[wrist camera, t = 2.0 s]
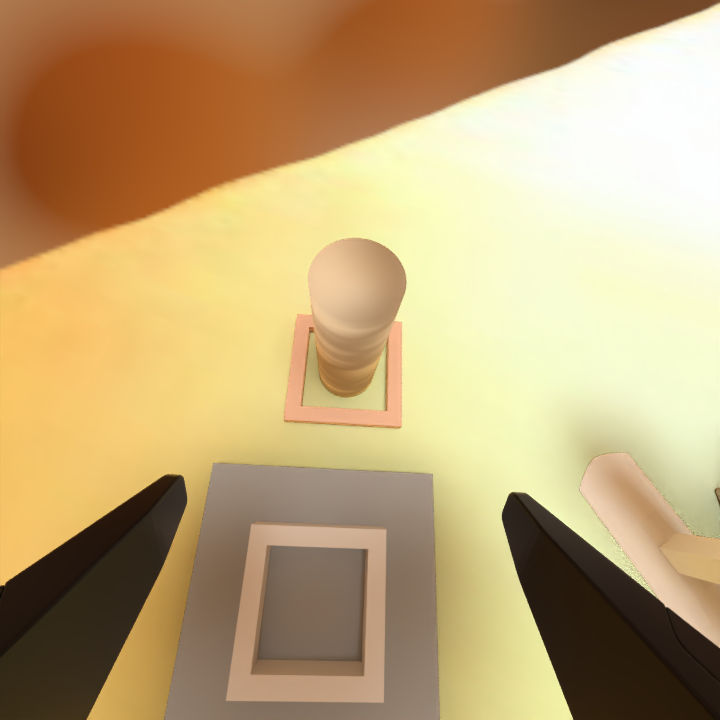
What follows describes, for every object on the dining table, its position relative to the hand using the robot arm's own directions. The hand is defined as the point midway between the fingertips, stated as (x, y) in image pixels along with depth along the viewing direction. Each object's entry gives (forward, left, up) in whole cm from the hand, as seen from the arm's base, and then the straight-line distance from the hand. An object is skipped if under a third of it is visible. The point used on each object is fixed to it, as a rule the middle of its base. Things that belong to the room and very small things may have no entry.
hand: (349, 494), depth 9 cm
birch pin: (0, +8, -14) cm, 16 cm away
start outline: (0, +8, -14) cm, 16 cm away
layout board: (-1, -6, -14) cm, 15 cm away
